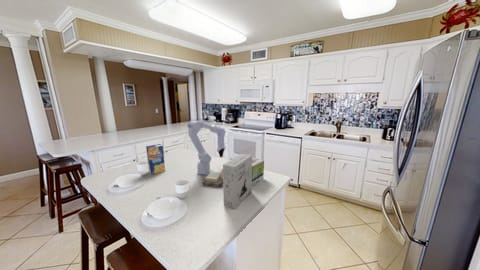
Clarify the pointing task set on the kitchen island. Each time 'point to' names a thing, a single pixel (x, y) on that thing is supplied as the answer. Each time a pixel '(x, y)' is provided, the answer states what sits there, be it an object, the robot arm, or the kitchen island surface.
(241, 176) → the cereal box
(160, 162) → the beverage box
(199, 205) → the kitchen island surface
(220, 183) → the shallow grey tray
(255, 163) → the tea box
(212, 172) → the kraft carton
